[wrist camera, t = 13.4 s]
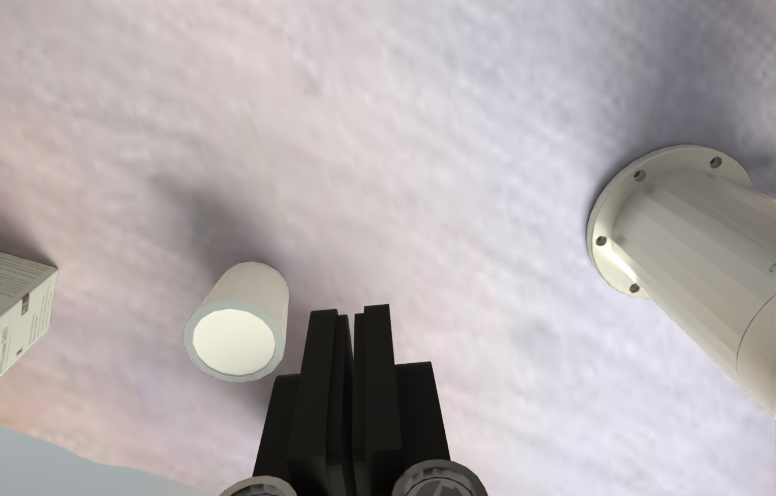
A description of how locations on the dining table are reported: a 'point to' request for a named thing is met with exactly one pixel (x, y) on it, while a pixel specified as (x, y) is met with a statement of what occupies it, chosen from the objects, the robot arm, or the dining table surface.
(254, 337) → the white short cylinder
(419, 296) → the dining table surface
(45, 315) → the skincare box
